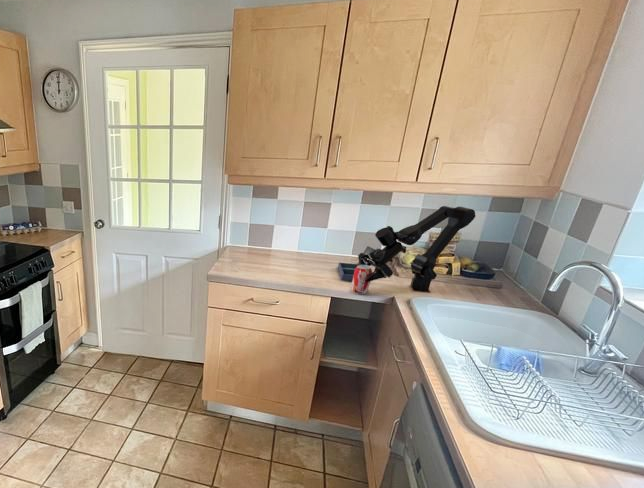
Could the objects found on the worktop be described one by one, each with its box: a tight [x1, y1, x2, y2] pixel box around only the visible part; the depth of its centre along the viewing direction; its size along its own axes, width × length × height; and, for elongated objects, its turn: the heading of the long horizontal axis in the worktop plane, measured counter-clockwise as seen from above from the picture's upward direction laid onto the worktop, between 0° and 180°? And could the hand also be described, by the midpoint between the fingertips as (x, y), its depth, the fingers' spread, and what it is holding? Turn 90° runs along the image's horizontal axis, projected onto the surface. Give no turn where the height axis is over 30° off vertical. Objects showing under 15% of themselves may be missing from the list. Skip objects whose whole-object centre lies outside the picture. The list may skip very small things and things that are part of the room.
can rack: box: [337, 262, 358, 283], centre depth 204 cm, size 10×19×3 cm, turn 163°
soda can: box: [350, 265, 373, 295], centre depth 182 cm, size 7×7×12 cm
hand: (359, 277), depth 181 cm, fingers open, 9 cm apart
